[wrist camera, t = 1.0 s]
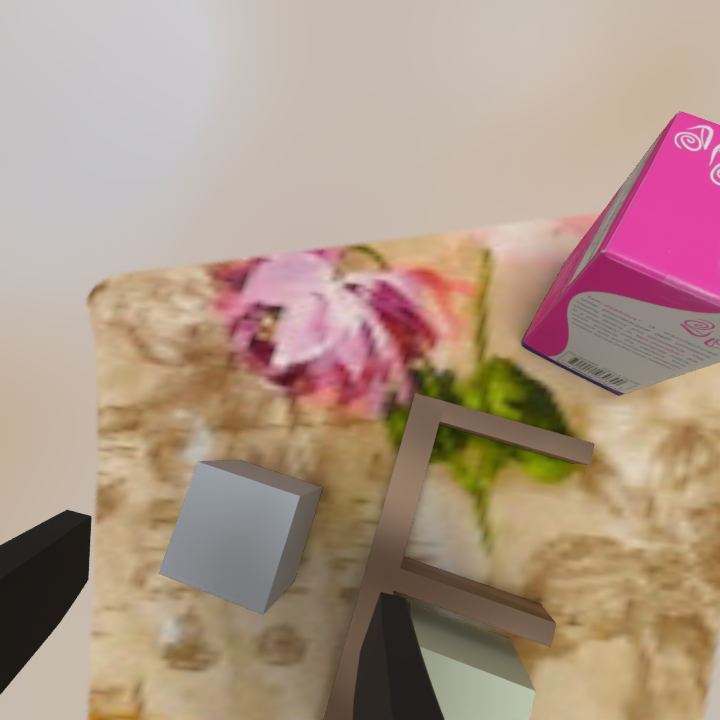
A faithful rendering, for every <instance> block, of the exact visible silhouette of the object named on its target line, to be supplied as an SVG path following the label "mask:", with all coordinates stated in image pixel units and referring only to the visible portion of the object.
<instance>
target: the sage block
mask: <svg viewBox="0 0 720 720" xmlns="http://www.w3.org/2000/svg"><path fill="white" fill-rule="evenodd" d="M409 609H410V613H411V617H412V621H413V625H414V629H415V632H416V636H417V639H418V643H419V646H420V649H421V653H422V656H423V659H424V662H425V665H426V669H427V672H428V674H429V677H430V680H431V683H432V686H433V689H434V692H435V695H436V697H437V700H438V703H439V706H440V708H441V711H442V714H443V716H444V719H445V720H530V715H531V711H532V706H533V701H534V697H535V692H536V691H535V689H534V687H533V685H532V683H531V680H530V678H529V676H528V674H527V672H526V670H525V668H524V666H523V664H522V662H521V660H520V658H519V656H518V654H517V652H516V650H515V648H514V646H513V644H512V642H511V640H510V639H508V638H506V637H503V636H500V635H497V634H495V633H492V632H489V631H486V630H484V629H481V628H478V627H476V626H473V625H470V624H467V623H465V622H462V621H459V620H456V619H454V618H451V617H448V616H446V615H443V614H440V613H437V612H435V611H432V610H429V609H427V608H424V607H421V606H418V605H416V604H413V603H410V606H409Z"/></svg>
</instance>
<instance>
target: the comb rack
mask: <svg viewBox="0 0 720 720" xmlns="http://www.w3.org/2000/svg"><path fill="white" fill-rule="evenodd" d="M439 425H442V426H445V427H449V428H452V429H455V430H459V431H462V432H466V433H469V434H473V435H476V436H479V437H483V438H486V439H490V440H493V441H497V442H500V443H503V444H507V445H510V446H514V447H517V448H521V449H524V450H528V451H531V452H534V453H538V454H541V455H545V456H548V457H552V458H555V459H558V460H562V461H565V462H569V463H573V464H585V465H590V462H591V458H592V453H593V448H594V443H591V442H587V441H584V440H580V439H577V438H573V437H569V436H566V435H562V434H559V433H555V432H552V431H548V430H545V429H541V428H537V427H534V426H530V425H527V424H523V423H520V422H516V421H513V420H509V419H505V418H502V417H498V416H495V415H491V414H488V413H484V412H481V411H477V410H473V409H470V408H466V407H463V406H459V405H456V404H452V403H449V402H445V401H442V400H438V399H434V398H431V397H427V396H424V395H420V394H417V393H415V396H414V399H413V403H412V406H411V410H410V414H409V417H408V421H407V424H406V428H405V431H404V435H403V438H402V442H401V446H400V449H399V453H398V456H397V460H396V463H395V467H394V470H393V474H392V478H391V481H390V485H389V488H388V492H387V495H386V499H385V503H384V506H383V510H382V513H381V517H380V520H379V524H378V527H377V531H376V535H375V538H374V542H373V545H372V549H371V552H370V556H369V559H368V563H367V567H366V570H365V574H364V577H363V581H362V584H361V588H360V591H359V595H358V599H357V602H356V606H355V609H354V613H353V616H352V620H351V624H350V627H349V631H348V634H347V638H346V641H345V645H344V648H343V652H342V656H341V659H340V663H339V666H338V670H337V673H336V677H335V680H334V684H333V688H332V691H331V695H330V698H329V702H328V705H327V709H326V712H325V716H324V720H353V704H354V693H355V686H356V678H357V670H358V663H359V656H360V650H361V647H362V644H363V641H364V638H365V635H366V633H367V630H368V627H369V624H370V621H371V618H372V615H373V612H374V609H375V607H376V604H377V601H378V598H379V595H380V592H383V593H387V594H391V595H393V593H394V591H397V592H399V593H402V594H405V595H408V596H410V597H413V598H416V599H419V600H421V601H424V602H427V603H430V604H433V605H435V606H438V607H441V608H444V609H446V610H449V611H452V612H455V613H457V614H460V615H463V616H466V617H468V618H471V619H474V620H477V621H479V622H482V623H485V624H488V625H490V626H493V627H496V628H499V629H501V630H504V631H507V632H510V633H513V634H515V635H518V636H521V637H524V638H526V639H529V640H532V641H535V642H537V643H540V644H543V645H546V646H548V647H551V645H552V640H553V635H554V631H555V626H556V623H555V621H554V620H553V619H552V618H551V616H550V615H549V614H548V613H547V611H546V610H545V609H544V608H543V606H542V605H541V604H538V603H535V602H533V601H530V600H527V599H524V598H521V597H518V596H515V595H512V594H510V593H507V592H504V591H501V590H498V589H495V588H492V587H489V586H487V585H484V584H481V583H478V582H475V581H472V580H469V579H466V578H464V577H461V576H458V575H455V574H452V573H449V572H446V571H443V570H441V569H438V568H435V567H432V566H429V565H426V564H423V563H420V562H418V561H415V560H412V559H409V558H406V557H403V556H404V552H405V549H406V545H407V541H408V537H409V534H410V530H411V526H412V523H413V519H414V515H415V511H416V508H417V504H418V500H419V497H420V493H421V489H422V485H423V482H424V478H425V474H426V471H427V467H428V463H429V460H430V456H431V452H432V448H433V445H434V441H435V437H436V434H437V430H438V426H439Z"/></svg>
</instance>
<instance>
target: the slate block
mask: <svg viewBox="0 0 720 720" xmlns="http://www.w3.org/2000/svg"><path fill="white" fill-rule="evenodd" d="M322 489H323V487H320V486H317V485H314V484H311V483H308V482H305V481H302V480H299V479H296V478H293V477H290V476H287V475H284V474H281V473H278V472H275V471H272V470H269V469H266V468H263V467H260V466H257V465H254V464H251V463H248V462H245V461H242V460H224V461H202V462H198V463H197V466H196V469H195V472H194V475H193V477H192V480H191V483H190V486H189V489H188V492H187V495H186V497H185V500H184V503H183V506H182V509H181V512H180V514H179V517H178V520H177V523H176V526H175V529H174V532H173V534H172V537H171V540H170V543H169V546H168V549H167V552H166V554H165V557H164V560H163V563H162V566H161V569H160V572H159V574H161V575H163V576H166V577H168V578H171V579H174V580H176V581H179V582H181V583H184V584H186V585H189V586H191V587H194V588H196V589H199V590H202V591H204V592H207V593H209V594H212V595H214V596H217V597H219V598H222V599H224V600H227V601H230V602H232V603H235V604H237V605H240V606H242V607H245V608H247V609H250V610H252V611H255V612H258V613H260V614H264V613H265V612H266V611H267V610H268V609H269V608H270V607H271V606H272V605H273V604H274V603H275V602H276V600H277V599H278V598H279V597H280V596H281V595H282V594H283V593H284V592H285V591H286V590H287V589H288V588H289V587H290V586H291V585H292V584H293V583H294V581H295V577H296V574H297V571H298V568H299V564H300V561H301V558H302V554H303V551H304V548H305V545H306V541H307V538H308V535H309V531H310V528H311V525H312V522H313V518H314V515H315V512H316V508H317V505H318V502H319V499H320V495H321V492H322Z"/></svg>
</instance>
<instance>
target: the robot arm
mask: <svg viewBox="0 0 720 720" xmlns="http://www.w3.org/2000/svg"><path fill="white" fill-rule="evenodd" d="M90 535H91V516H89V515H85V514H81V513H77V512H74V511H69V510H66V511H64V512H62V513H60V514H58V515H56V516H54V517H52V518H51V519H49V520H47V521H45V522H43V523H41V524H39V525H37V526H35V527H34V528H32V529H30V530H28V531H26V532H25V533H22V534H21V535H19V536H17V537H15V538H13V539H11V540H9V541H8V542H6V543H4V544H2V545H0V694H1V693H2V692H3V691H4V690H5V688H6V687H7V686H8V685H9V684H10V682H11V681H12V680H13V679H14V678H15V676H16V675H17V674H18V673H19V672H20V670H21V669H22V668H23V667H24V666H25V664H26V663H27V662H28V661H29V660H30V658H31V657H32V656H33V655H34V654H35V652H36V651H37V650H38V649H39V648H40V646H41V645H42V644H43V643H44V641H45V640H46V639H47V638H48V636H49V635H50V634H51V633H52V632H53V630H54V629H55V628H56V627H57V625H58V624H59V623H60V621H61V620H62V619H63V617H64V616H65V614H66V613H67V611H68V610H69V608H70V607H71V605H72V604H73V603H74V601H75V600H76V598H77V596H78V595H79V593H80V592H81V590H82V589H83V587H84V586H85V584H86V583H87V581H88V575H89V555H90ZM353 720H445V719H444V716H443V714H442V711H441V708H440V706H439V703H438V700H437V697H436V695H435V692H434V689H433V686H432V683H431V680H430V677H429V674H428V672H427V669H426V665H425V662H424V659H423V656H422V653H421V649H420V646H419V643H418V639H417V636H416V632H415V629H414V625H413V621H412V617H411V613H410V609H409V605H408V602H407V600H406V599H405V598H403V597H399V596H395V595H391V594H387V593H383V592H380V595H379V598H378V601H377V604H376V607H375V609H374V612H373V615H372V618H371V621H370V624H369V627H368V630H367V633H366V635H365V638H364V641H363V644H362V647H361V650H360V656H359V663H358V670H357V678H356V686H355V693H354V704H353Z"/></svg>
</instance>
